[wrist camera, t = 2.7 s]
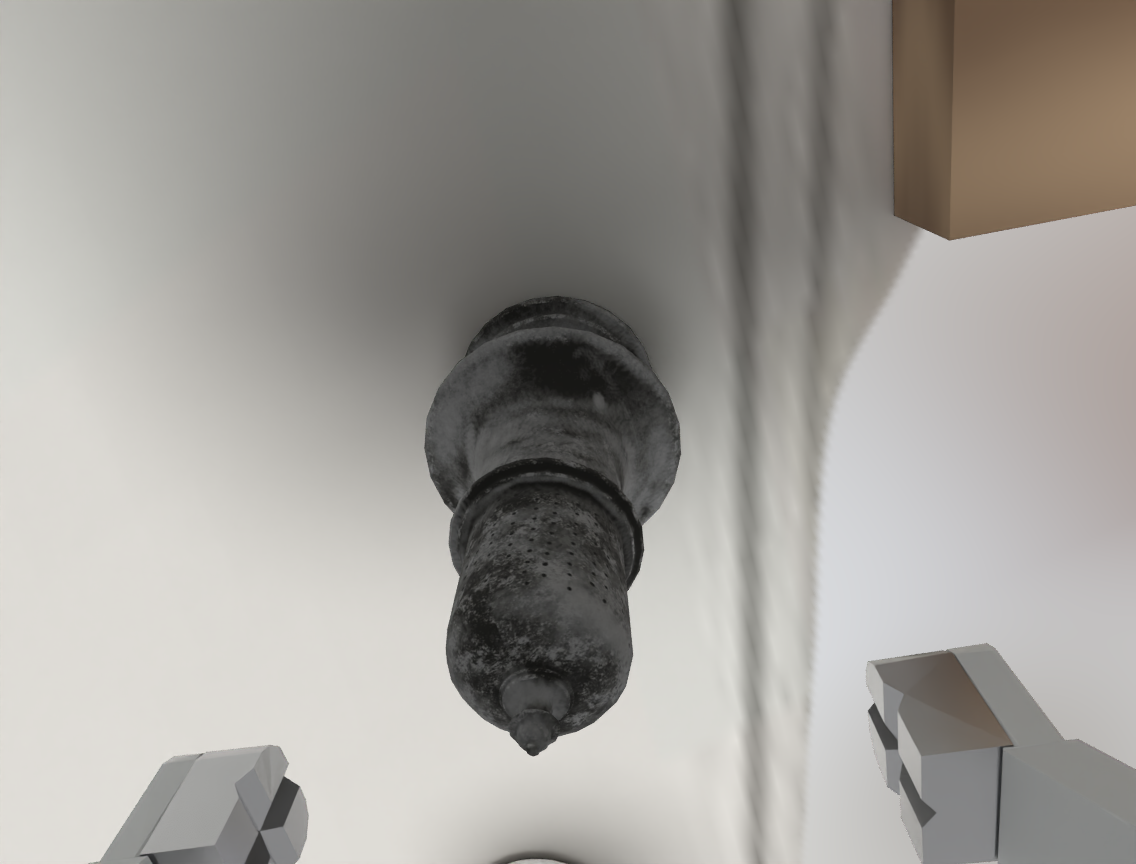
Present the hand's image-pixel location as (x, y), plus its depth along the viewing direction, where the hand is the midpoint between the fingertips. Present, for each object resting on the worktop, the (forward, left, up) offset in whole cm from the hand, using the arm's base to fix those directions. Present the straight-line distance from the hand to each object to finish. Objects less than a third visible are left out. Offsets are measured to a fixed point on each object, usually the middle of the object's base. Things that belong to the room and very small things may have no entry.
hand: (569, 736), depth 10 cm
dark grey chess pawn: (0, 0, -12) cm, 12 cm away
